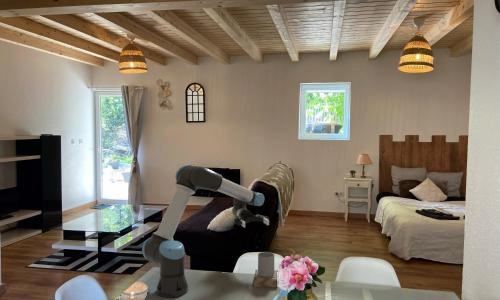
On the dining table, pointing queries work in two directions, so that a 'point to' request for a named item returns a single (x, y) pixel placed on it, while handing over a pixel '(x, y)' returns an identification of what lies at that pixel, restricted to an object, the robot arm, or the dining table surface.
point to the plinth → (265, 280)
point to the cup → (266, 264)
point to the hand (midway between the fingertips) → (256, 223)
